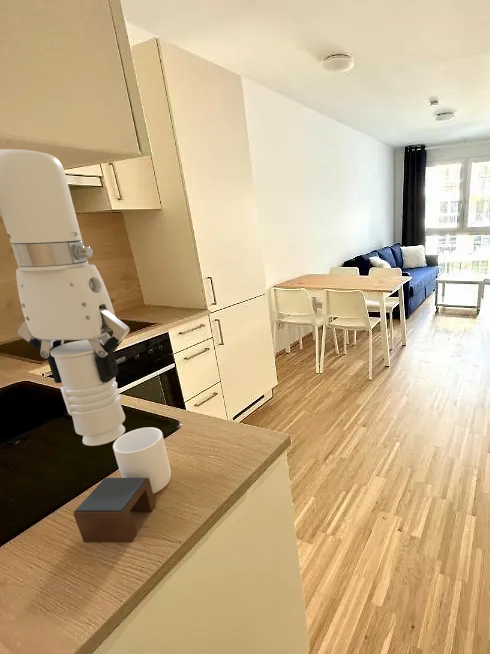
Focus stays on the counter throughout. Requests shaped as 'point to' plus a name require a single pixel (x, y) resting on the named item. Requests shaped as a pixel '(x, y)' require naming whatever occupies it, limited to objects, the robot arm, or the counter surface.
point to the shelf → (114, 509)
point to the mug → (143, 457)
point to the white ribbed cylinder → (88, 394)
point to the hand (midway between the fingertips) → (87, 378)
